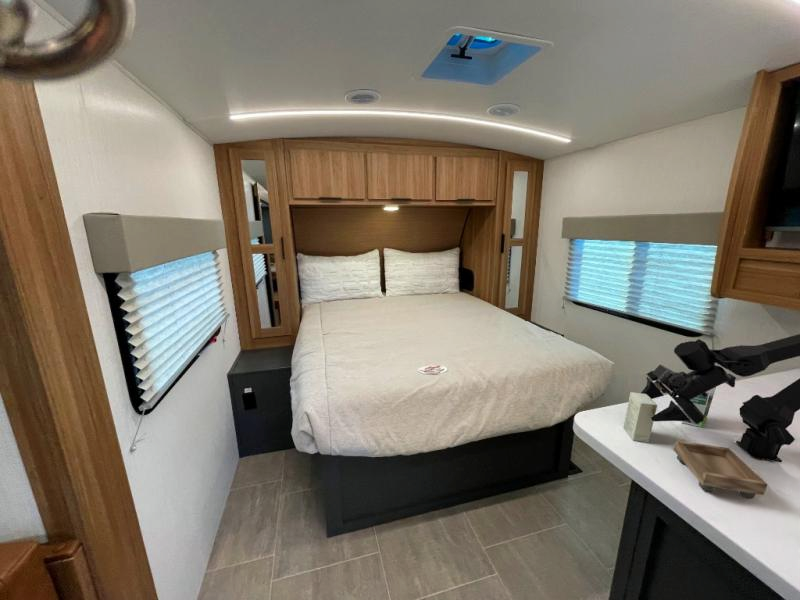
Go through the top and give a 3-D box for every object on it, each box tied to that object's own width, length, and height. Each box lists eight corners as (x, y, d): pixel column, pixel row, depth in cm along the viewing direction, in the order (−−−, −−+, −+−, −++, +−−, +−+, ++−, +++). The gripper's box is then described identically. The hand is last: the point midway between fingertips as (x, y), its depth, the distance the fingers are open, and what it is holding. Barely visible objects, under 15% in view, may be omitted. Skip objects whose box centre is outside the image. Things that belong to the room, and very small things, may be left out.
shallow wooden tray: (722, 465, 83) (728, 448, 81) (759, 503, 72) (767, 484, 71) (671, 457, 85) (676, 440, 84) (699, 493, 74) (706, 474, 73)
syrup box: (680, 423, 100) (693, 382, 96) (673, 412, 105) (684, 373, 101) (704, 428, 98) (717, 386, 94) (695, 417, 103) (707, 376, 99)
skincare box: (649, 443, 91) (659, 405, 87) (632, 440, 92) (641, 403, 88) (637, 428, 97) (646, 393, 94) (621, 426, 98) (630, 391, 94)
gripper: (661, 346, 95) (612, 374, 100) (703, 376, 77) (641, 408, 83) (685, 373, 95) (635, 399, 101) (732, 409, 78) (668, 439, 83)
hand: (643, 410), depth 92 cm, fingers open, 9 cm apart
